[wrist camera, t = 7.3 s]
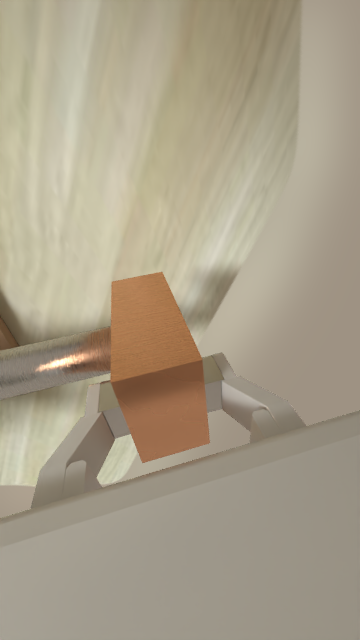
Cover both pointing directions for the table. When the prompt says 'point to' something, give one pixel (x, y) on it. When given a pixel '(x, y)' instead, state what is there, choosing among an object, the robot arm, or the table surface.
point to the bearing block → (6, 337)
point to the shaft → (128, 367)
